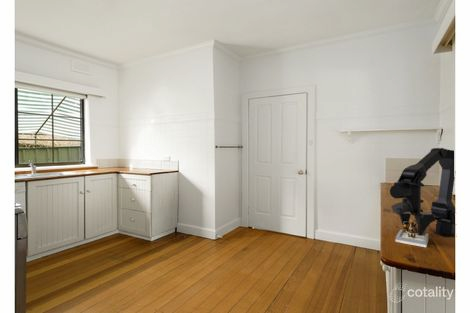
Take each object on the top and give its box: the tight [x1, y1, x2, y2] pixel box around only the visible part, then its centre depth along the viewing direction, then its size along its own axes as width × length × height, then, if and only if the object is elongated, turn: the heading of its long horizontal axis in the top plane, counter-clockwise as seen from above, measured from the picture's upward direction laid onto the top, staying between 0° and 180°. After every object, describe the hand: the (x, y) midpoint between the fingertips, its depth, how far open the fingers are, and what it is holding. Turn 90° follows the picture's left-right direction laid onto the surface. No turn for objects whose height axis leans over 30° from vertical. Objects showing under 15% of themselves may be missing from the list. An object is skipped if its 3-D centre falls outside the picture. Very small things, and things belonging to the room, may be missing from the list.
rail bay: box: [395, 228, 429, 248], centre depth 115 cm, size 13×11×2 cm
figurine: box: [404, 219, 418, 239], centre depth 116 cm, size 5×5×8 cm
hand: (412, 232), depth 115 cm, fingers open, 9 cm apart
